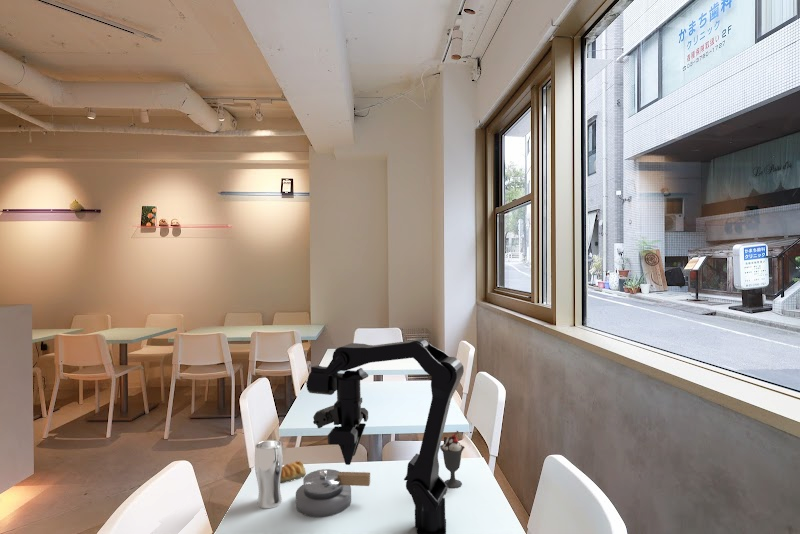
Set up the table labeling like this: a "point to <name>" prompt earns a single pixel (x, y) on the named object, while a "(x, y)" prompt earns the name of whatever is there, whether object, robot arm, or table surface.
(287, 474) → the pastry
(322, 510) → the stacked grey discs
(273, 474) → the beer glass
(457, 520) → the table surface
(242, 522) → the table surface
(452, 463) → the sundae
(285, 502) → the table surface
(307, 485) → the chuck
